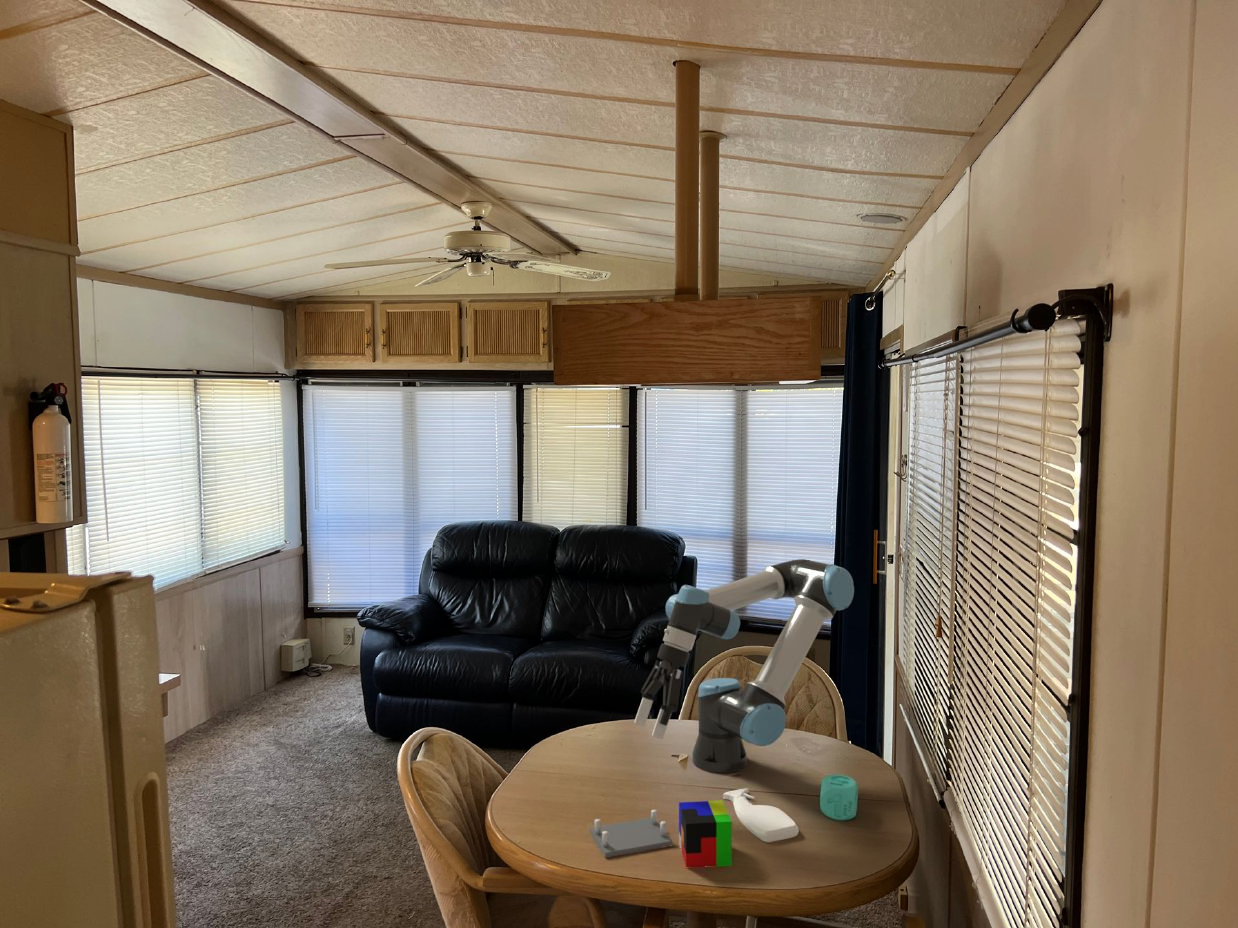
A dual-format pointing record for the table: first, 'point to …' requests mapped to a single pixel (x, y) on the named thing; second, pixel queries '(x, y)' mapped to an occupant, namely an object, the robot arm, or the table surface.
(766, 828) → the spray bottle
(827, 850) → the table surface
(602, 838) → the pin tray
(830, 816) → the decorative dice
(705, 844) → the puzzle toy
